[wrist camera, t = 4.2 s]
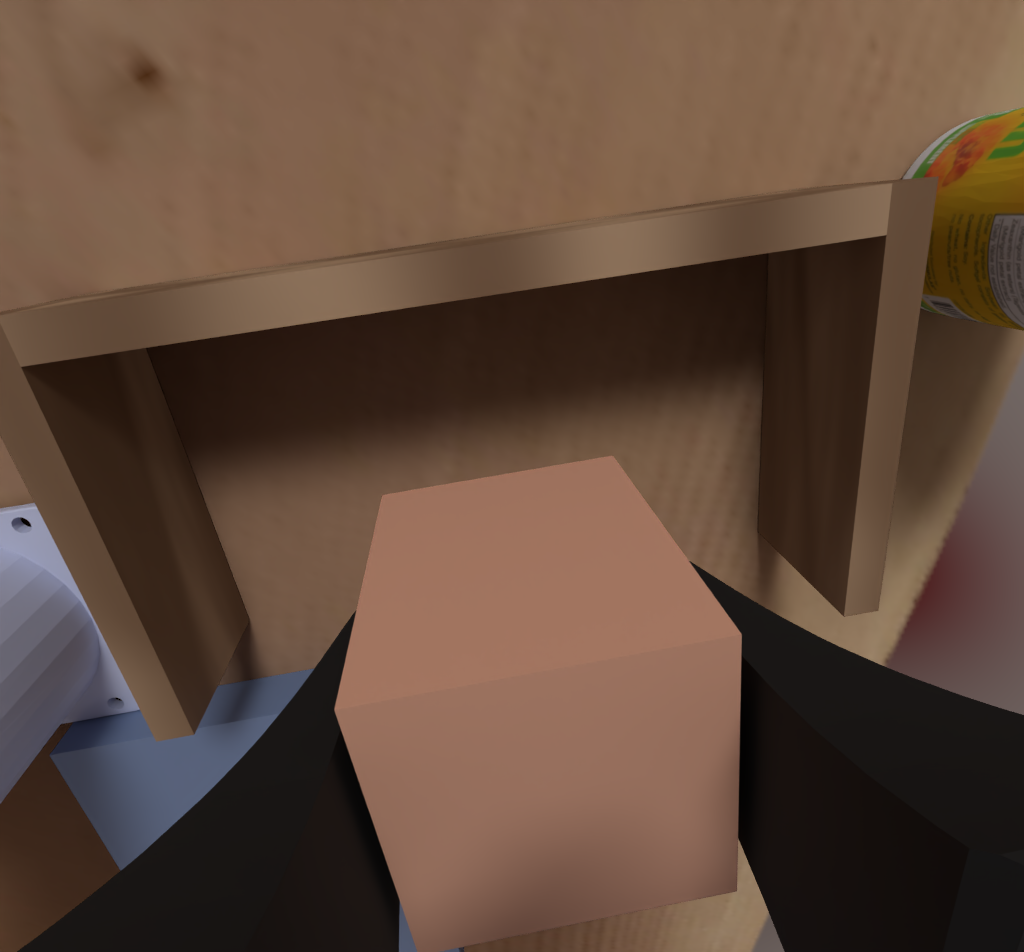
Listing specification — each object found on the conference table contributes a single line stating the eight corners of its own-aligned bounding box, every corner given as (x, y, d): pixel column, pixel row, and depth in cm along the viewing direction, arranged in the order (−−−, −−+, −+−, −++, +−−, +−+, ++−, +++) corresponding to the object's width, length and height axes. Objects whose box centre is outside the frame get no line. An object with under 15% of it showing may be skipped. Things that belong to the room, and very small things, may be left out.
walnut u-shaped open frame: (220, 625, 20) (156, 741, 16) (85, 294, 16) (-57, 323, 11) (785, 527, 21) (878, 610, 17) (805, 188, 17) (939, 176, 12)
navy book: (462, 909, 29) (464, 969, 26) (231, 955, 28) (213, 1020, 26) (391, 645, 22) (386, 694, 20) (90, 699, 22) (49, 755, 20)
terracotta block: (427, 676, 13) (418, 955, 8) (382, 495, 11) (333, 709, 6) (626, 640, 13) (736, 890, 8) (612, 455, 12) (741, 634, 7)
